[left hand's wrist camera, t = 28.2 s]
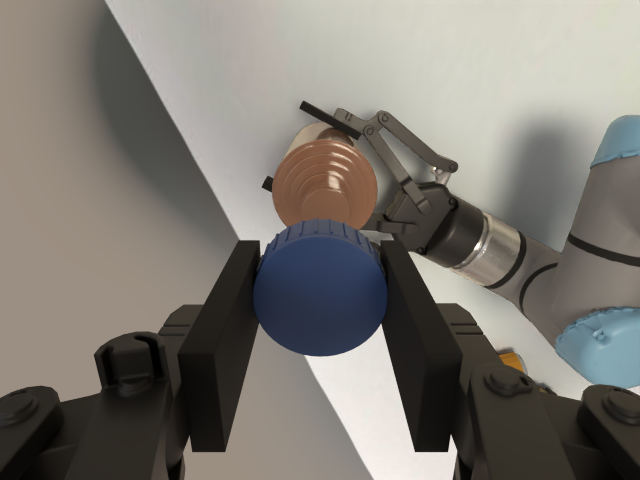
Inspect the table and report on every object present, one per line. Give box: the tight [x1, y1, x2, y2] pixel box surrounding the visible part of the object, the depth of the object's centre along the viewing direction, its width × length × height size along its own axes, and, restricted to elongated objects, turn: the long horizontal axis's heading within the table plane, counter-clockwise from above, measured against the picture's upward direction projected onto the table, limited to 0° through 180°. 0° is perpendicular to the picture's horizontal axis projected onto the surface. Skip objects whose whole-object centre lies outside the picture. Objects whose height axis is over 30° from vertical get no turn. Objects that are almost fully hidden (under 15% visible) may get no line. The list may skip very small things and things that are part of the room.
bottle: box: [272, 122, 377, 230], centre depth 36 cm, size 8×8×24 cm
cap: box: [253, 218, 388, 356], centre depth 14 cm, size 4×4×2 cm
